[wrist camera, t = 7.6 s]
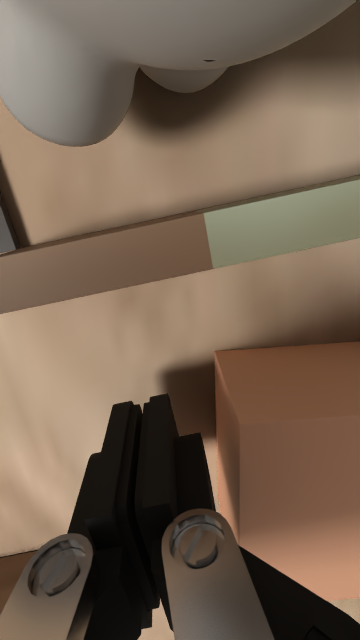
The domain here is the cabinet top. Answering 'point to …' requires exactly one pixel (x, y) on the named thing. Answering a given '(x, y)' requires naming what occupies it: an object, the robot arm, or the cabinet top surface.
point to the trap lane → (169, 257)
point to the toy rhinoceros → (131, 53)
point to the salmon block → (293, 460)
